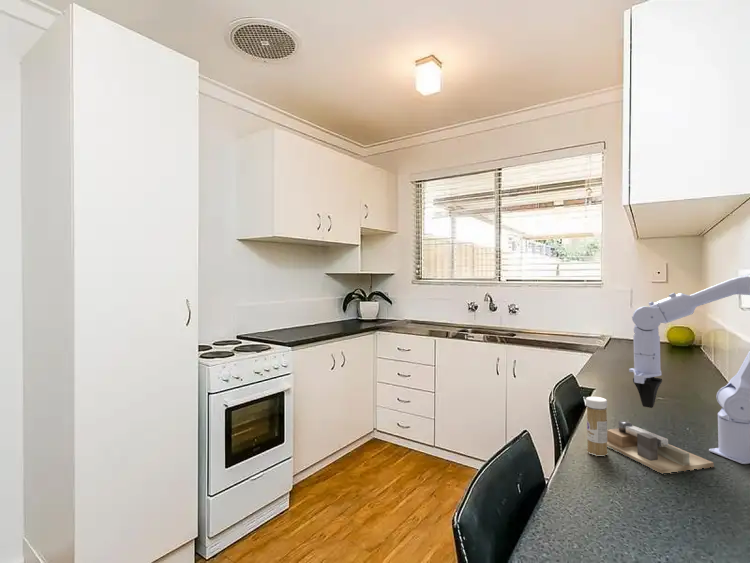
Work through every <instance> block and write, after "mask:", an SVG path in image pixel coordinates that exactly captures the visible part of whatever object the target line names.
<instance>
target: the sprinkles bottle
mask: <svg viewBox="0 0 750 563" xmlns="http://www.w3.org/2000/svg"><path fill="white" fill-rule="evenodd" d="M585 406H586V414H587V416H586V417H587V420H586V438H587V449H586V450H587V451H588V452H590V453H593V454H596V455H606V454H607V453H608V448H607V430H608V418H607V416H608V415H607V410H608V409H607V408H608V400H607V399H606V398H604V397H600V396H587V397H586V398H585ZM587 451H586V452H587ZM588 452H587V453H588ZM608 454H609V453H608Z"/></svg>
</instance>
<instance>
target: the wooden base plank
mask: <svg viewBox="0 0 750 563" xmlns="http://www.w3.org/2000/svg"><path fill="white" fill-rule="evenodd" d="M607 446H609V447H611V448H613V449H614V450H617V451H619V452H621V453H622V454H624V455H626V456H628V457H630V458H632V459H634V460H636V461H638V462H640V463H642V464H644V465H646V466H648V467H650V468H652V469H653V470H655V471H657V472H660V473H662V474H663V473H670V474H672V473H671V472H677V473H679V472H678V471H684V472H687V471H686V470H690V471H695V470H694V469H697V470H702V468H704V469H710V467H711V468H714V467H715V465H714V461H711V460H708V459H706V458H704V457H701V456H699V455H697V454H694V453H691V452H689V451H686V450H684V449H682V448H679V447H676V446H674V445H672V444H669V443H668V446H666V447H660V446H657V437H654V436H652V435H649V434H647V433H637V437H636V436H633V435H631V434H628V433H626V432H622V431H619V427H618V428H611V429H608V428H607ZM653 470H652V471H653ZM655 471H654V472H655ZM657 472H656V473H657Z"/></svg>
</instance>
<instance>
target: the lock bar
mask: <svg viewBox="0 0 750 563" xmlns="http://www.w3.org/2000/svg"><path fill="white" fill-rule="evenodd" d="M618 428H619V431H622V432H626V433H628V434H631V435H633V436H636V437H637V433H647V434H649V435H652V436H654V437H657V446H660V447H666V446H668V444H669V439H668V438H666V437H664V436H661V435H658V434H656V433H654V432H651V431H649V430H647V429H644V428H640V427H638V426H635V425H633V422H632V421H628V420H618Z"/></svg>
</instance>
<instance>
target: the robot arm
mask: <svg viewBox="0 0 750 563" xmlns="http://www.w3.org/2000/svg"><path fill="white" fill-rule="evenodd" d="M734 295H741V296H743V295H744V296H750V273H749V274H748V273H747V274H743V275H739V276H736V277H732V278H729V279H726V280H725V281H722V282H719V283H717V284H715V285H712V286H709V287H707V288H705V289H704V288H703V289H702V290H699V291H697V292H694V293H691V294H685V293H682V292H679V293H675V292H672V293H669V294H668V296H669V297H664V298H662V299H659V300H658V301H655V302H654V301H649V302H648V305H649V306H645V305H644V306H639V307H638V308H636V309H635V310H634V311H633V312H632V313H633V314H632V316H631V319H632V322H633V323H634V327H633V333H634V334H633V335H632V336H633V337H632V338H633V367H632V368H628V372H629V373H633V378H632V382H633V384H634V386H635V387H636V389H637V392H638V394H639V399H640V401H641V405H642V407H644V408H649V409H650V408H651V409H652V408H654V407H655V403H656V399H657V393H658V391H659V388H660V387H661V384H662V382H663V379H662V378H660V376H662V375H663V374H662V369H661V368H662V367H661V336H660V335H659V333H660V332H659V330H660V329H659V327H660V325H662V324H668V323H671V322H673V321H677V320H679V319H682V318H685V317H688V316H691V315H693V314H694V312H695V310H696V308H697V307H701V306H703V305H706V304H710V303H712V302H715V301H718V300H722V299H724V298H729V297H731V296H734ZM716 401H717V403H718V405H719V406H720V407H721V409H720V410H719V411H718V412H717V430H718V431H717V436H718V438H717V439H718V444H717V445H718V447H715V448H709V449H708V451H709V452H711V453H714V454H716V455H718V456H721V457H723V458H726V459H729V460H731V461H734V462H736V463H739V464H742V465H748V464H750V350H749V351H748V352H747V354H746V356H745V358H744V359H743V362H742V364H741V365H740V367H739V369H738V371H737V372H736V374H735V375H734V376H732V377H731V378H730V379H729V381H728V383H727V384H726V385H725V386H722V387H721V388H719V389H718V391H717V392H716Z"/></svg>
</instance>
